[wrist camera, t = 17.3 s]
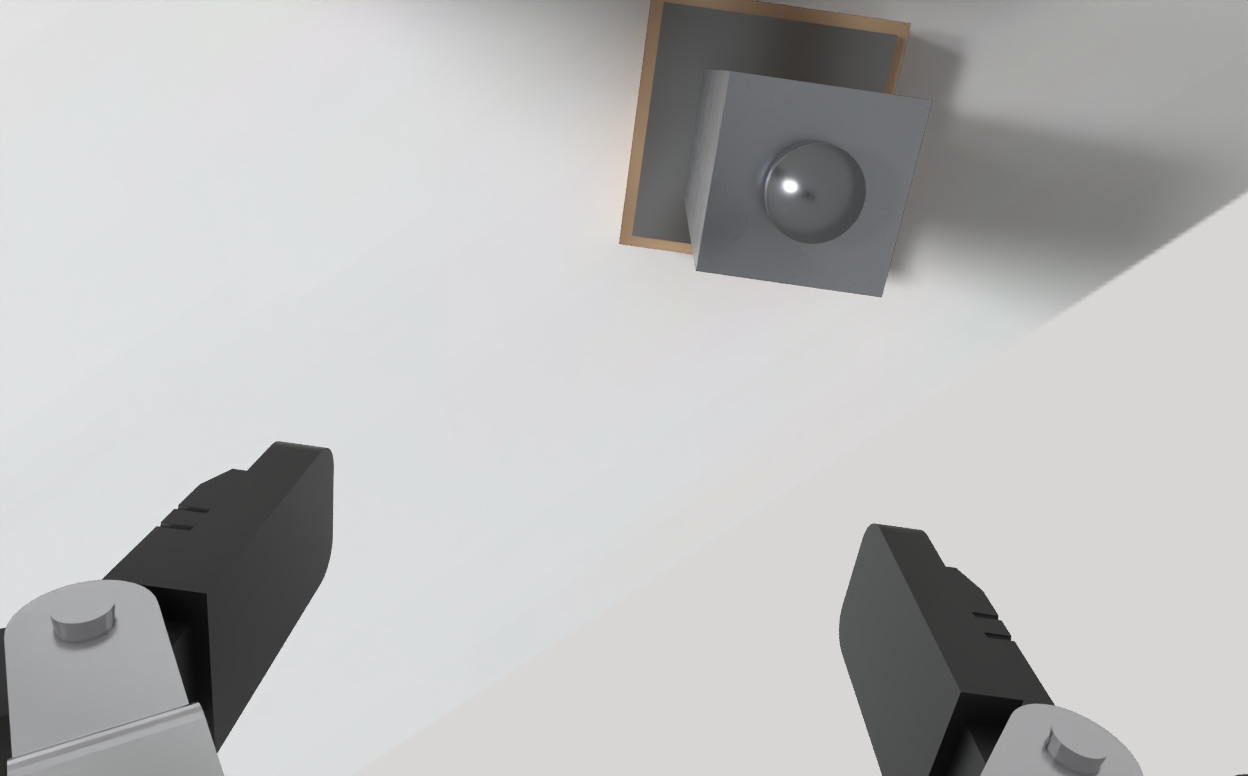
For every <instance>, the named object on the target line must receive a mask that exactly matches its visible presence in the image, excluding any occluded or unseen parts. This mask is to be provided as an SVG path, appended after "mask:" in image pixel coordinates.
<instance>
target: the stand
mask: <svg viewBox="0 0 1248 776" xmlns="http://www.w3.org/2000/svg"><path fill="white" fill-rule="evenodd" d="M910 25H911V23H905V22H898V21H891V20H884V19H877V18H870V17H863V16H856V15H849V14H842V13H835V12H828V11H821V10H814V9H807V8H800V7H793V6H786V5H779V4H772V3H765V2H758V1H751V0H651V4H650V11H649V19H648V27H647V34H646V42H645V50H644V57H643V65H642V73H641V80H640V88H639V96H638V103H637V111H636V118H635V126H634V134H633V141H632V149H631V157H630V164H629V172H628V180H627V187H626V195H625V203H624V210H623V218H622V225H621V233H620V241H619V244H623V245H630V246H638V247H645V248H652V249H659V250H666V251H673V252H680V253H687V254H693V251H692V245H691V239H690V233H689V227H688V221H687V215H686V209H685V203H684V193H685V187H686V180H687V174H688V168H689V161H690V155H691V149H692V143H693V136H694V130H695V124H696V118H697V111H698V105H699V99H700V92H701V86H702V80H703V74H704V69H709V70H723V71H734V72H740V73H747V74H754V75H761V76H768V77H775V78H782V79H789V80H796V81H802V82H809V83H816V84H823V85H830V86H837V87H844V88H851V89H857V90H864V91H871V92H878V93H885V94H892V95H894V92H895V88H896V83H897V79H898V75H899V71H900V67H901V62H902V58H903V54H904V50H905V46H906V41H907V37H908V33H909V29H910Z"/></svg>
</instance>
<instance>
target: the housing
mask: <svg viewBox="0 0 1248 776" xmlns="http://www.w3.org/2000/svg"><path fill="white" fill-rule="evenodd" d="M931 104H932V100H926V99H919V98H912V97H906V96H899V95H892V94H885V93H878V92H871V91H864V90H857V89H851V88H844V87H837V86H830V85H823V84H816V83H809V82H802V81H796V80H789V79H782V78H775V77H768V76H761V75H754V74H747V73H740V72H734V71H723V70H709V69H704V74H703V80H702V86H701V92H700V99H699V105H698V111H697V118H696V124H695V130H694V136H693V143H692V149H691V155H690V161H689V168H688V174H687V180H686V187H685V193H684V203H685V209H686V215H687V221H688V227H689V233H690V239H691V245H692V251H693V257H694V263H695V268H696V271H701V272H708V273H715V274H722V275H729V276H736V277H743V278H750V279H757V280H764V281H771V282H778V283H785V284H792V285H799V286H806V287H813V288H820V289H827V290H834V291H841V292H848V293H855V294H862V295H869V296H876V297H882V294H883V290H884V286H885V282H886V279H887V275H888V271H889V267H890V263H891V259H892V255H893V251H894V248H895V244H896V240H897V236H898V232H899V228H900V224H901V220H902V217H903V213H904V209H905V205H906V201H907V197H908V193H909V189H910V186H911V182H912V178H913V174H914V170H915V166H916V162H917V158H918V155H919V151H920V147H921V143H922V139H923V135H924V131H925V127H926V124H927V120H928V116H929V112H930V108H931Z"/></svg>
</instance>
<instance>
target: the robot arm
mask: <svg viewBox="0 0 1248 776" xmlns="http://www.w3.org/2000/svg"><path fill="white" fill-rule="evenodd" d="M333 473H334V463H333V455H332V452H331V450H330V449H328V448H323V447H316V446H309V445H302V444H295V443H288V442H280V441H277V442H275V443H273V444H272V445H271V446H270V447H269V448H268V449H267V450H266V451H265V452H264V453H263V455H262V456H261V457H260V458H259V459H258V460H257V461H256V462H255V463H254V464H253V465H252V466H251V467H250V468H249V469H248V470H247V471H244V470H237V469H231V470H229V471H227V472H225V473H223V474H221V475H219V476H217V477H214V478H212V479H210V480H208V481H206V482H204V483H202V484H200V485H199V486H198V487H197V488H196V489H195V490H194V491H193V492H192V493H190V494H189V495H188V496H187V497H186V498H185V499H184V500H183V501H182V502H181V503H180V504H179V507H178V509H174V510H173V511H172V512H171V513H170V514H169V515H168V516H167V517H166V518H165V519H164V520H163V521H162V522H161V526H160V527H157V526H156V527H155V528H154V529H153V530H152V531H151V532H150V533H149V534H148V535H147V536H146V537H145V538H144V539H143V540H142V541H141V542H140V543H139V544H138V545H137V546H136V547H135V548H134V549H133V550H132V551H131V552H130V553H129V554H128V555H127V556H126V557H125V558H124V559H122V560H121V561H120V562H119V563H118V564H117V565H116V566H115V567H114V568H113V569H112V570H111V571H110V572H109V573H108V574H107V575H106V576H105V577H104V578H103V579H102V580H95V581H87V582H81V583H76V584H72V585H68V586H64V587H62V588H59V589H56V590H53V591H51V592H48V593H46V594H44V595H42V596H40V597H38V598H36V599H34V600H33V601H31V602H29V603H28V604H27V605H25V606H24V607H22V608H21V609H20V610H19V611H18V612H17V613H16V614H15V615H14V616H13V617H12V619H11V620H10V621H9V623H8V625H7V627H6V628H2V629H0V776H224V774H223V771H222V768H221V765H220V762H219V759H218V756H217V753H218V751H219V749H220V748H221V746H222V744H223V743H224V741H225V740H226V738H227V736H228V735H229V733H230V731H231V730H232V728H233V726H234V725H235V723H236V722H237V720H238V718H239V717H240V715H241V713H242V712H243V710H244V708H245V707H246V705H247V703H248V702H249V700H250V699H251V697H252V695H253V694H254V692H255V690H256V689H257V687H258V685H259V684H260V682H261V681H262V679H263V677H264V676H265V674H266V672H267V671H268V669H269V667H270V666H271V664H272V663H273V661H274V659H275V658H276V656H277V654H278V653H279V651H280V649H281V648H282V646H283V645H284V643H285V641H286V640H287V638H288V636H289V635H290V633H291V631H292V630H293V628H294V626H295V625H296V623H297V622H298V620H299V618H300V617H301V615H302V613H303V612H304V610H305V608H306V607H307V605H308V604H309V602H310V600H311V599H312V597H313V595H314V594H315V592H316V590H317V589H318V587H319V586H320V584H321V582H322V580H323V578H324V576H325V573H326V570H327V567H328V564H329V560H330V555H331V549H332V539H333ZM839 639H840V647H841V651H842V654H843V657H844V661H845V664H846V666H847V670H848V673H849V676H850V679H851V682H852V685H853V688H854V691H855V694H856V697H857V700H858V703H859V706H860V709H861V712H862V715H863V718H864V721H865V724H866V727H867V730H868V733H869V737H870V739H871V743H872V745H873V749H874V752H875V755H876V758H877V761H878V764H879V767H880V770H881V773H882V776H1143V773H1142V770H1141V768H1140V766H1139V764H1138V762H1137V761H1136V759H1135V758H1134V756H1133V755H1132V754H1131V752H1130V751H1129V750H1128V749H1127V748H1126V746H1124V745H1123V744H1122V743H1121V742H1120V741H1119V740H1118V739H1117V738H1116V737H1115V736H1113V735H1112V734H1111V733H1109V731H1107V730H1106V729H1104V728H1103V727H1101V726H1100V725H1098V724H1097V723H1095V722H1093V721H1091V720H1090V719H1088V718H1086V717H1084V716H1082V715H1080V714H1078V713H1075V712H1073V711H1070V710H1067V709H1065V708H1061V707H1057V706H1055V705H1054V703H1053V702H1052V700H1051V699H1050V697H1049V696H1048V694H1047V692H1046V691H1045V689H1044V687H1043V686H1042V684H1041V683H1040V681H1039V679H1038V678H1037V676H1036V675H1035V673H1034V672H1033V670H1032V668H1031V667H1030V665H1029V664H1028V662H1027V660H1026V659H1025V657H1024V656H1023V654H1022V652H1021V651H1020V649H1019V648H1018V646H1017V645H1016V643H1015V642H1014V641H1011V635H1010V633H1009V632H1008V630H1007V629H1006V627H1005V625H1004V624H1003V622H1002V621H1000V620H998V614H997V613H996V611H995V609H994V608H993V606H992V605H991V603H990V602H989V600H988V598H987V597H986V595H985V594H984V592H983V591H982V590H981V589H980V588H979V587H977V586H976V585H975V584H974V583H973V582H972V581H970V580H969V579H968V578H967V577H966V576H965V575H964V574H962V573H961V572H960V571H959V570H958V569H957V568H952V567H945V565H944V563H943V562H942V560H941V558H940V557H939V555H938V553H937V551H936V550H935V548H934V546H933V544H932V543H931V541H930V540H929V538H928V536H927V534H926V533H925V532H924V531H922V530H917V529H909V528H903V527H896V526H888V525H881V524H871V525H870V526H869V527H868V528H867V530H866V532H865V534H864V537H863V540H862V543H861V546H860V550H859V553H858V556H857V560H856V563H855V566H854V569H853V573H852V576H851V580H850V583H849V586H848V589H847V593H846V596H845V599H844V603H843V606H842V610H841V615H840V624H839ZM1237 776H1248V774H1247V775H1246V774H1244V775H1237Z"/></svg>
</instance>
